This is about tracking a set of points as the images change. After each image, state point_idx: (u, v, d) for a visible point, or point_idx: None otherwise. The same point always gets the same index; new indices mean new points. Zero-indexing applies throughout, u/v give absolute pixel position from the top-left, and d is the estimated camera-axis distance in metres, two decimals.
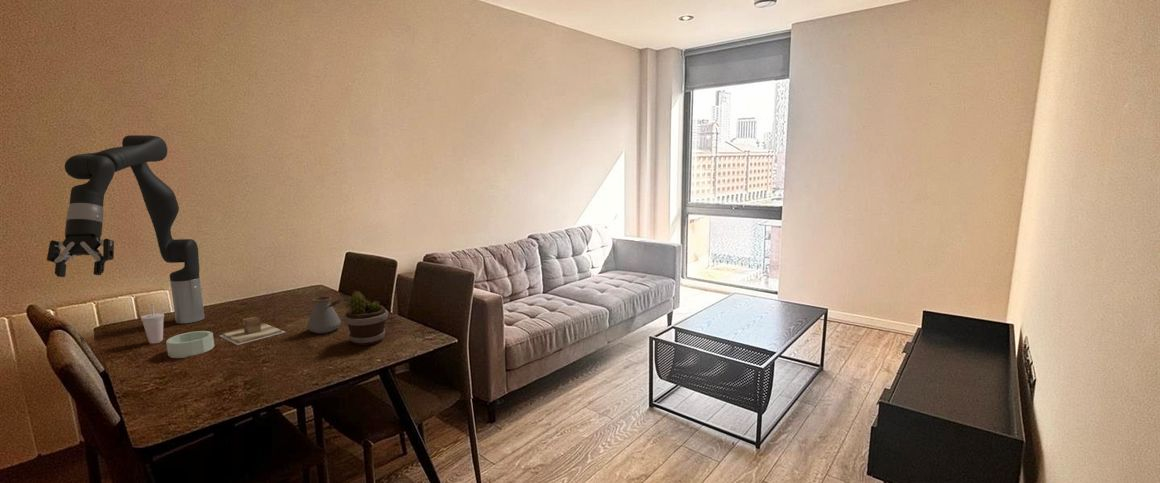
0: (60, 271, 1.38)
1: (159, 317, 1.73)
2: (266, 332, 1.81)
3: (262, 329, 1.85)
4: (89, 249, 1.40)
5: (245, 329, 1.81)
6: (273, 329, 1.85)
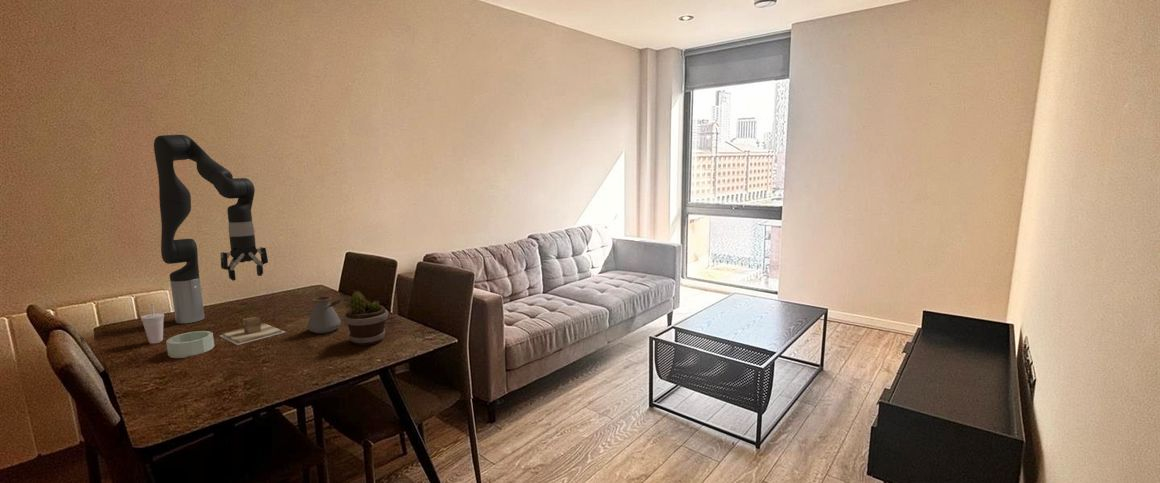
0: None
1: (159, 317, 1.73)
2: (266, 332, 1.81)
3: (262, 329, 1.85)
4: (255, 257, 1.79)
5: (245, 329, 1.81)
6: (273, 329, 1.85)
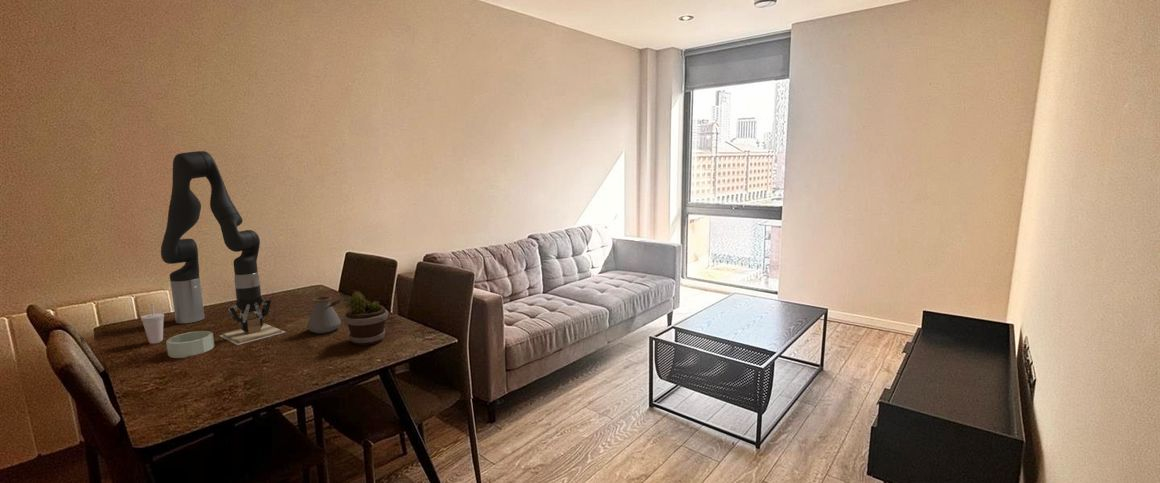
0: None
1: (159, 317, 1.73)
2: (266, 332, 1.81)
3: (262, 329, 1.85)
4: (258, 309, 1.82)
5: None
6: (273, 329, 1.85)
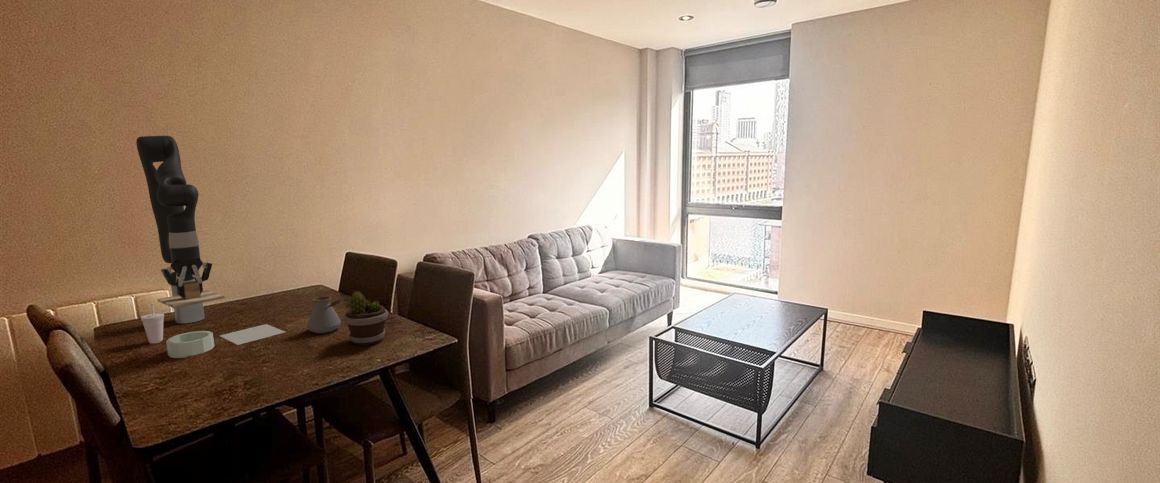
0: None
1: (159, 317, 1.73)
2: (206, 298, 1.64)
3: (202, 295, 1.67)
4: (197, 272, 1.64)
5: None
6: (215, 295, 1.68)
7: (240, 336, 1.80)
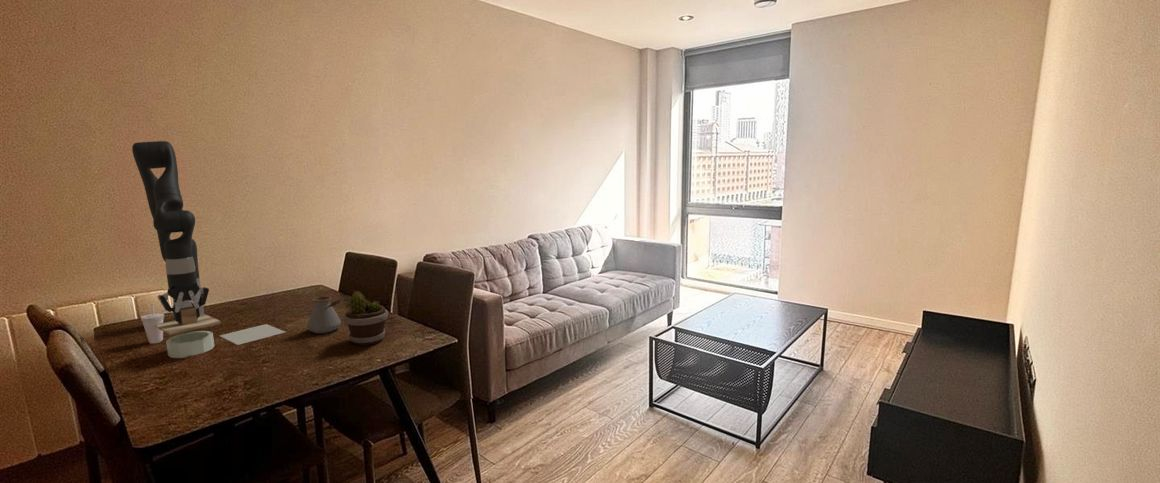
0: (180, 318, 1.63)
1: (159, 317, 1.73)
2: (203, 324, 1.64)
3: (199, 320, 1.67)
4: (193, 297, 1.64)
5: None
6: (211, 320, 1.67)
7: (240, 336, 1.80)
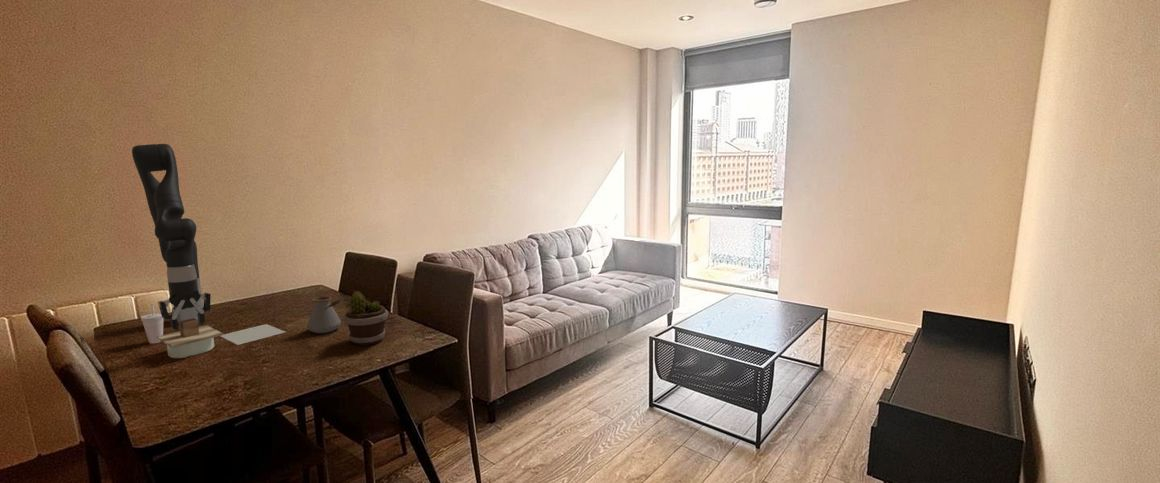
0: (177, 326, 1.62)
1: (159, 317, 1.73)
2: (205, 335, 1.65)
3: (201, 332, 1.68)
4: (196, 304, 1.65)
5: (181, 332, 1.64)
6: (213, 332, 1.68)
7: (240, 336, 1.80)
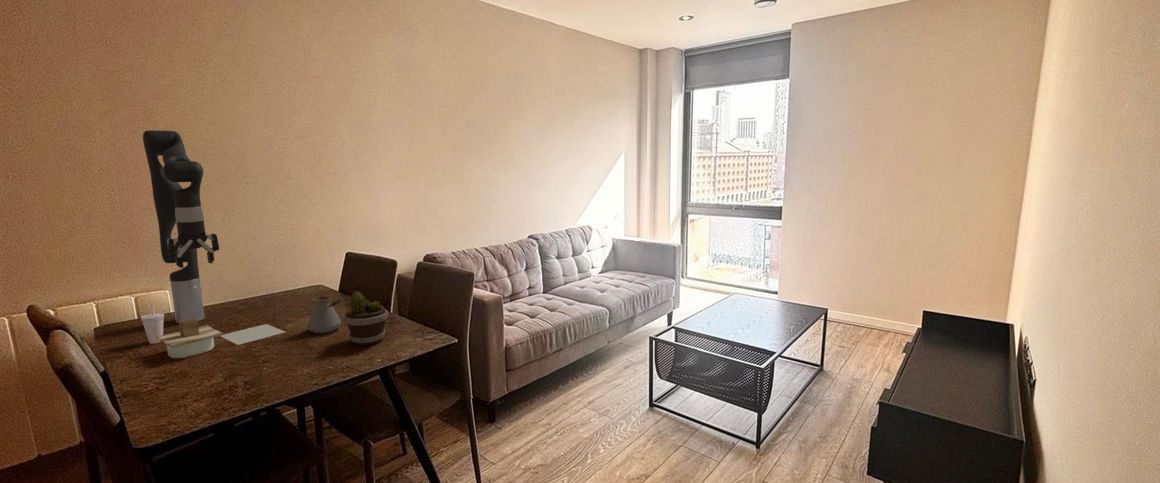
0: (182, 263, 1.68)
1: (159, 317, 1.73)
2: (205, 335, 1.65)
3: (201, 332, 1.68)
4: (204, 244, 1.72)
5: (181, 332, 1.64)
6: (213, 332, 1.68)
7: (240, 336, 1.80)
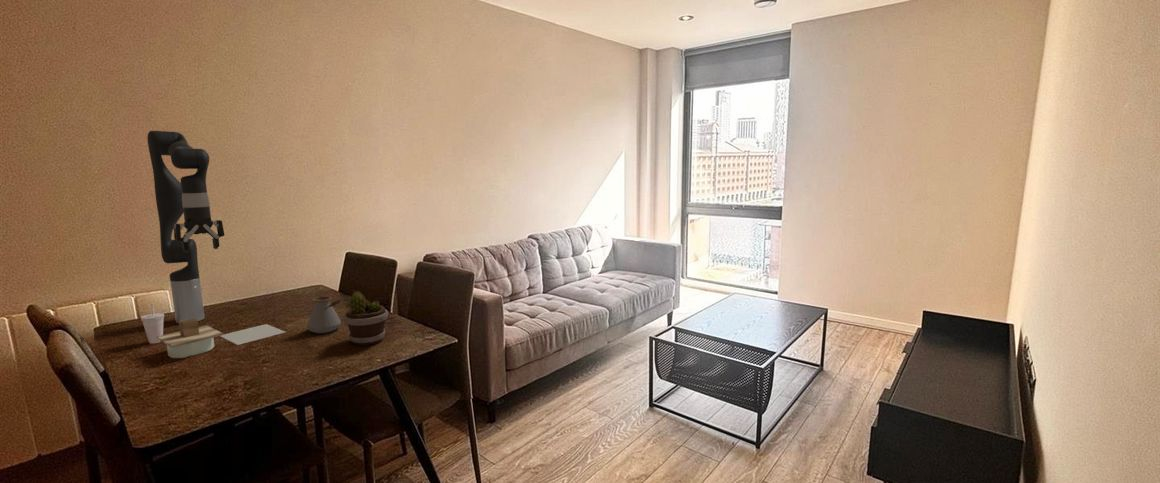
0: None
1: (159, 317, 1.73)
2: (205, 335, 1.65)
3: (201, 332, 1.68)
4: (210, 230, 1.77)
5: (181, 332, 1.64)
6: (213, 332, 1.68)
7: (240, 336, 1.80)
